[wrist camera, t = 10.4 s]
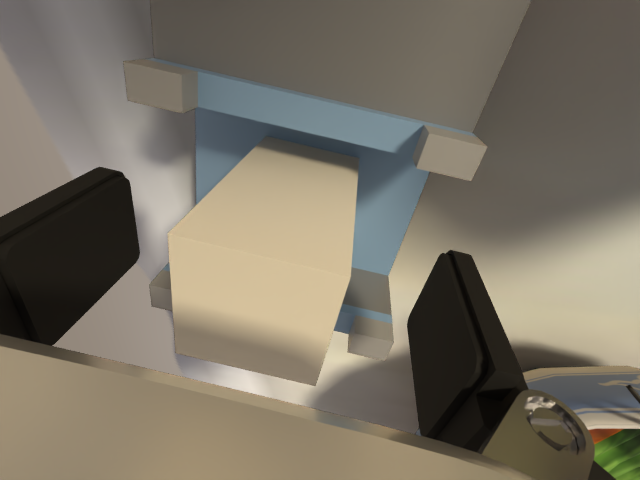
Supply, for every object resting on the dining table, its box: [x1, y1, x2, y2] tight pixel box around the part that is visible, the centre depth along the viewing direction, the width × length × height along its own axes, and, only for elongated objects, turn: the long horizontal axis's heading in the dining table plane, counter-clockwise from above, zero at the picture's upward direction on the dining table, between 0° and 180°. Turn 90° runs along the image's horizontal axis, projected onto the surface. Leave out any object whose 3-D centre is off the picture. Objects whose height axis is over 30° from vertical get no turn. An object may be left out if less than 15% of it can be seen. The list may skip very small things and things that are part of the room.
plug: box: [168, 136, 359, 386], centre depth 11 cm, size 4×4×8 cm
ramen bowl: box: [415, 366, 640, 480], centre depth 19 cm, size 25×23×8 cm
